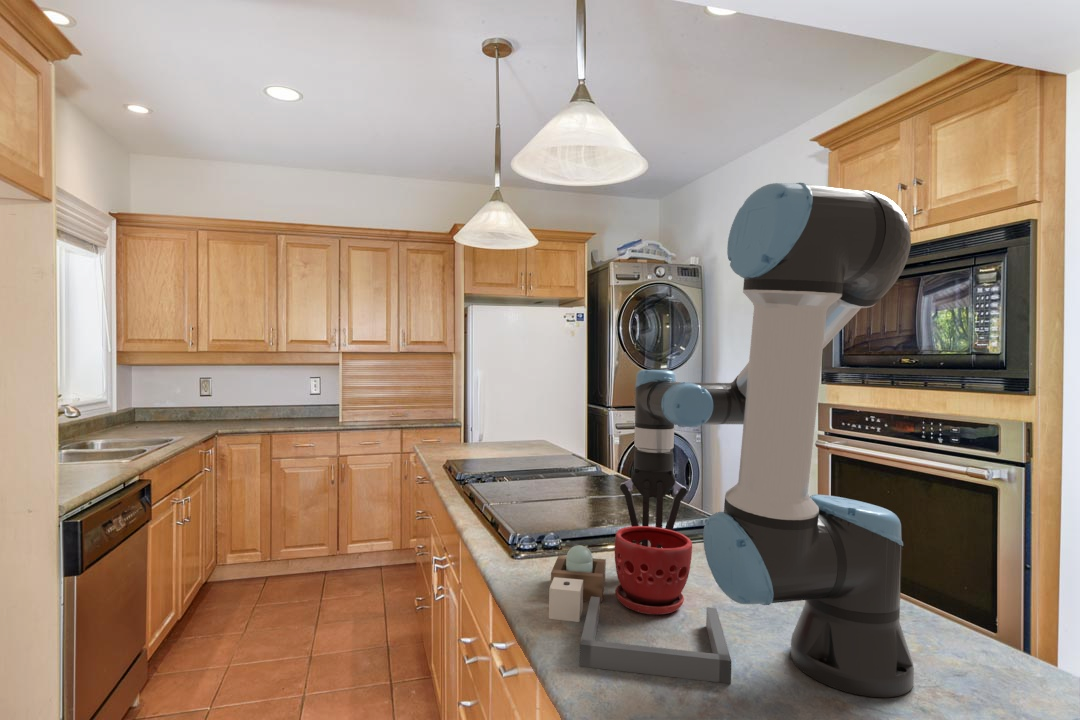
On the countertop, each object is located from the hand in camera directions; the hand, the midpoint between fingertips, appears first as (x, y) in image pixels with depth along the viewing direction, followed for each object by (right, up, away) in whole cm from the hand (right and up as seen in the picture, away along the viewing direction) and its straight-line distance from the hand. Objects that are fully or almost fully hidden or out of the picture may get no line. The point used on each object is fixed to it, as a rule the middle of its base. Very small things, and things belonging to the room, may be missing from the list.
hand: (651, 570), depth 113 cm
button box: (-15, -1, -7) cm, 16 cm away
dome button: (-15, 0, -7) cm, 16 cm away
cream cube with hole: (-17, -1, -17) cm, 24 cm away
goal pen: (-5, -1, -26) cm, 27 cm away
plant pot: (-2, -2, -12) cm, 13 cm away
